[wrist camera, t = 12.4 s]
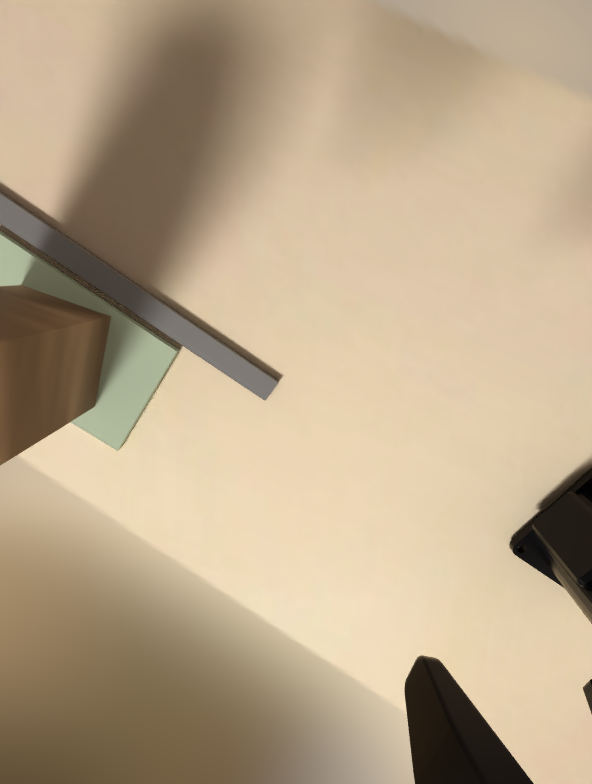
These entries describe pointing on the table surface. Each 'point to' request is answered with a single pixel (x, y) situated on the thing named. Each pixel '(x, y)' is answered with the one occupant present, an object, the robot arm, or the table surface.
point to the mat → (122, 353)
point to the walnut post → (45, 365)
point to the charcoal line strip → (133, 297)
